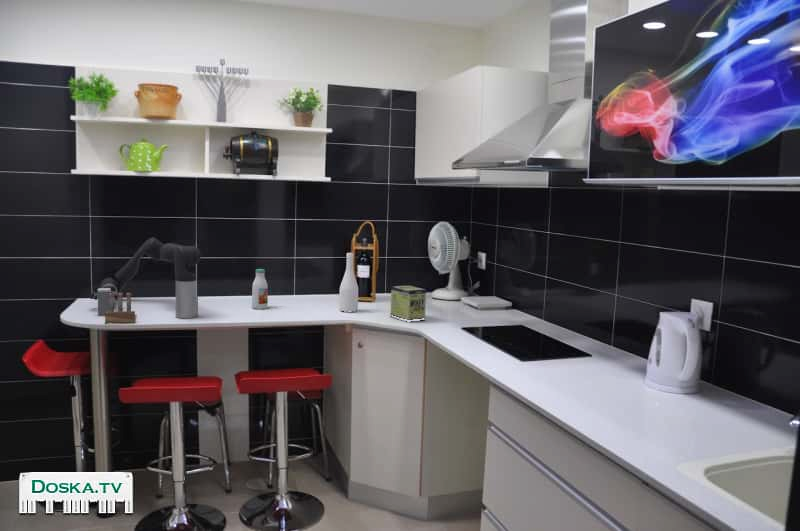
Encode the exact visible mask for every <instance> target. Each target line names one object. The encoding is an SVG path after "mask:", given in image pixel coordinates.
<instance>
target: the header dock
mask: <svg viewBox="0 0 800 531" xmlns="http://www.w3.org/2000/svg"><path fill="white" fill-rule="evenodd" d="M123 295H124V293H118V299H117V308H118V310H117V311H115V299H114V293H110V294H109V306H110V312H105V316H104V324H105V325H108V324H107V323H121V324H135V323H136V319H137V314H136V311H134V310H132V293H131V292H125V296H126V311H124V310H123V309H124V308H123V304H124V302H123V298H122V296H123Z"/></svg>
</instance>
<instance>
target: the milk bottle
mask: <svg viewBox="0 0 800 531" xmlns="http://www.w3.org/2000/svg"><path fill="white" fill-rule="evenodd" d="M265 273H266V271H265V268H257V269H255V278H254V280H253V282H252V287H251V288H252V290H251V307H252V309H255V310H266V309H268V299H269V298H268V296H269V293H268V290H269V287H268V282H267V280H266V276H265Z"/></svg>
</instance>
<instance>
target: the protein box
mask: <svg viewBox="0 0 800 531" xmlns="http://www.w3.org/2000/svg"><path fill="white" fill-rule="evenodd" d="M390 292H391V294H390V296H391V297H390V313H389V314H390V315H393V316H396V317H399V318H403V319H407V320H413V319H422V318H425V319H426V306H427V305H426V304H427V303H426V302H427V301H426V300H427V289H426V288H421V287H416V286H413V285H394V286H392V285H391V291H390Z"/></svg>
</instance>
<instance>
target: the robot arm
mask: <svg viewBox="0 0 800 531" xmlns="http://www.w3.org/2000/svg"><path fill="white" fill-rule="evenodd" d="M144 255H146V256H148V257H149V258H150V259H152V260H153V261H157V262H158V261H159V262H160V261H164V262H168V263H172V264H173V263H174V275H175V318H178V319H194V318H196V317H199V296H198V295H197V274H196V273H193V272H189V271H187V270H186V267H189V266H190V267H191V266H196V265H198V264H199V263H200V262H201V258H202V254H201V251H200V249H199V248H198V247H197V246H195V245H181V244H177V243H172V242H169V243H165V244H164V243H162V242H161V241H160V240H158V239H157V238H156V237H150V238H148V239H147V240H145V242H143V244H142V245H141V246H140V247H139V248H138V250H137V251H136V252H135V253H134V255H132V257H131V258H130V259H129V260H128V262H127V263H126V264H125V265H124V266H122V267H121V268H120V269H119V270H118V271H117V272H116V273H115V275H114V277H115V279H116V280H114V279H113V278H112V277H106V278H103V280H102V281H101V283H100V284H99V285H100V286H99V287H100V288H111V293H114V301H115V300H118V293H123V289H124V287H125V285H126V284H127V283H128V282H129V281H130V280H131V279H133V278H134V277H135V276H136V274H137V273H138V271H139V266H140V263H141V262H140V261H141V259H142V256H144ZM116 281H117V282H116ZM123 294H124V293H123ZM89 296H90V300H95V301H98V292H97V293H96V292H95V291H92V292H91V293H90V294H89ZM122 299H124V297H123V296H122Z"/></svg>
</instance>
